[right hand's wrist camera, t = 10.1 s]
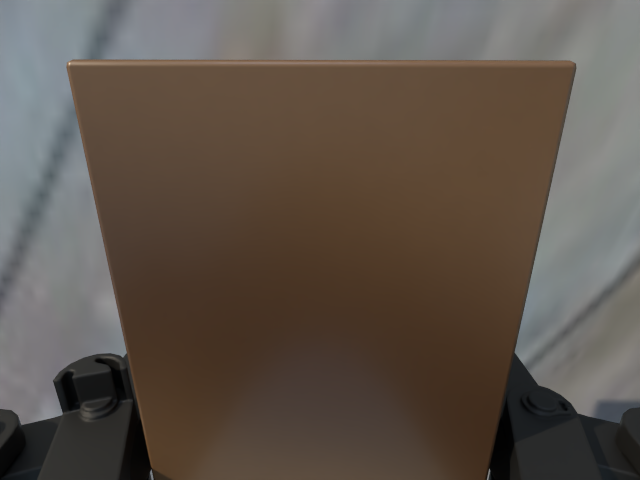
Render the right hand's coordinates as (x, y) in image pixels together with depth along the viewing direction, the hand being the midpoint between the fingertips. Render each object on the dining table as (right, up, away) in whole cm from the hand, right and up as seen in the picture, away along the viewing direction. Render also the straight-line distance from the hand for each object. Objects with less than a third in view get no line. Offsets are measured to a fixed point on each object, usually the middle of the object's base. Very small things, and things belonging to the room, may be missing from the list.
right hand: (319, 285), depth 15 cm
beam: (0, -26, +11) cm, 28 cm away
